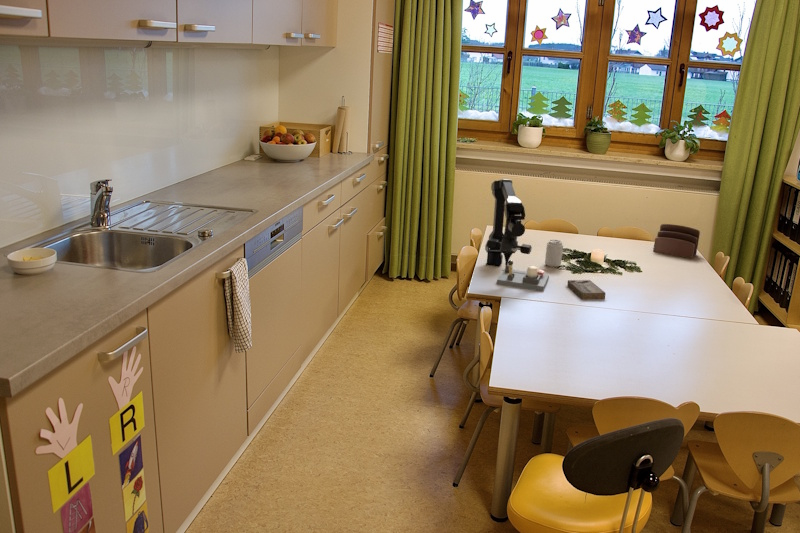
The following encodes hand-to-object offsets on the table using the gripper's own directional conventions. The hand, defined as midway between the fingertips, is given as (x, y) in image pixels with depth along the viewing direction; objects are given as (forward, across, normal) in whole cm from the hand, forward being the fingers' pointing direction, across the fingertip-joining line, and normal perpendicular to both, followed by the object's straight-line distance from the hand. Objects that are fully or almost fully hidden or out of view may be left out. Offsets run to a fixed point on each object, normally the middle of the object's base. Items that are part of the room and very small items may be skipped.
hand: (506, 264), depth 325 cm
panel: (+7, +8, +4) cm, 11 cm away
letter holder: (+4, +71, +90) cm, 114 cm away
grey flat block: (+7, +35, +3) cm, 36 cm away
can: (+7, +16, +36) cm, 40 cm away
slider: (+6, -1, +9) cm, 11 cm away
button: (+3, +12, 0) cm, 12 cm away
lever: (+6, +3, 0) cm, 6 cm away
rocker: (+4, +12, +9) cm, 15 cm away
